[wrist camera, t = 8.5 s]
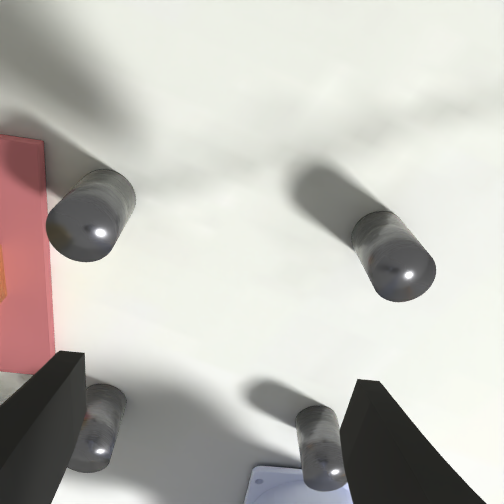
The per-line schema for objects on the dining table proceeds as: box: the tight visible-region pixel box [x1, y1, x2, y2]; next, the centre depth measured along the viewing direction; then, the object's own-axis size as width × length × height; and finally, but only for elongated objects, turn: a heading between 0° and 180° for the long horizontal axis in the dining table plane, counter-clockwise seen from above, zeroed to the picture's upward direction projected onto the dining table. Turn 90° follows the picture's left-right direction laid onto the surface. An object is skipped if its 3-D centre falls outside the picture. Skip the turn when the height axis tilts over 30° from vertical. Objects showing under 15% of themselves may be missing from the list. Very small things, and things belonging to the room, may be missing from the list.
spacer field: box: [46, 169, 436, 492], centre depth 20 cm, size 14×14×4 cm
